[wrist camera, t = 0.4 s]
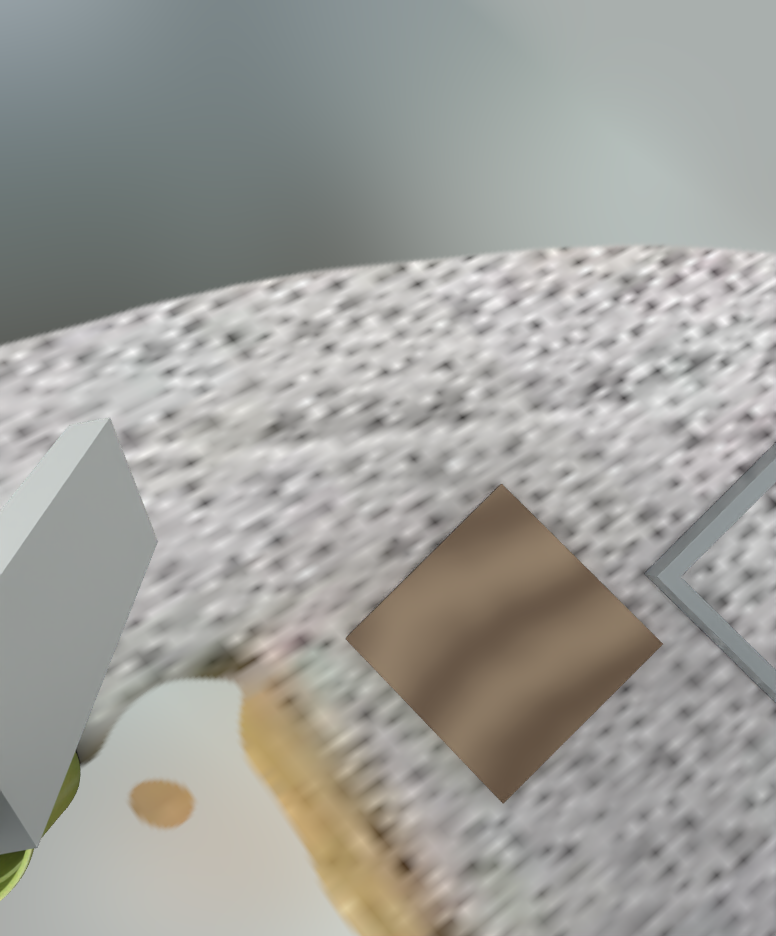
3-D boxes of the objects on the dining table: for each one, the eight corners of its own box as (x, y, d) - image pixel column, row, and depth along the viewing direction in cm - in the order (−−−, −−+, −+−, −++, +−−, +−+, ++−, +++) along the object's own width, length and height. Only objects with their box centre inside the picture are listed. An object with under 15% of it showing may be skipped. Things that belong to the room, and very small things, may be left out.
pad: (656, 640, 46) (663, 644, 45) (501, 796, 46) (503, 803, 44) (499, 484, 47) (501, 483, 46) (347, 635, 47) (345, 639, 46)
